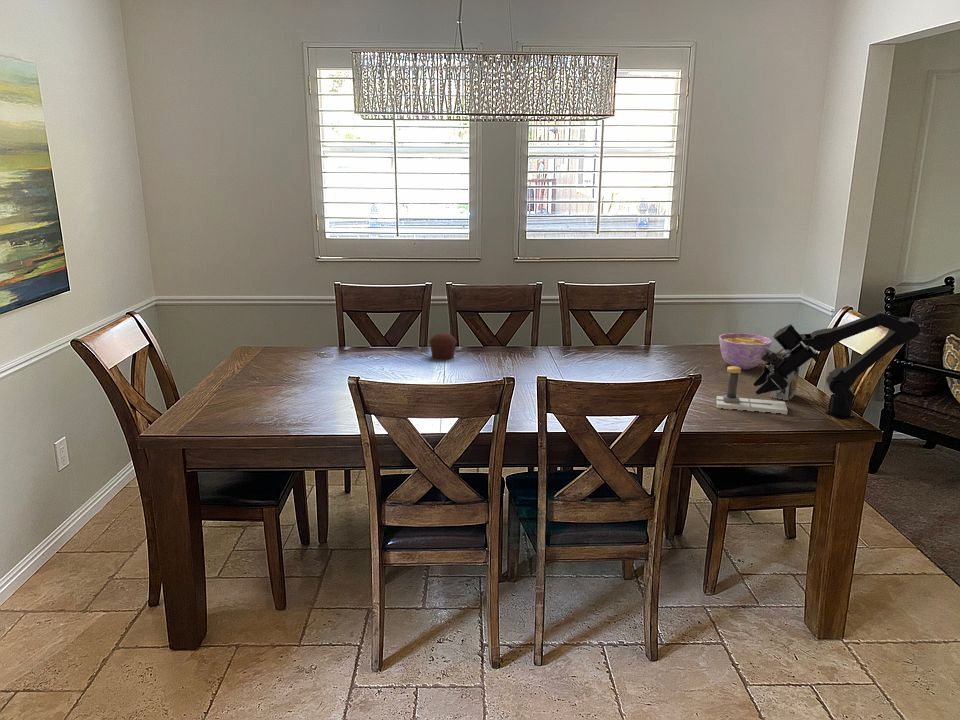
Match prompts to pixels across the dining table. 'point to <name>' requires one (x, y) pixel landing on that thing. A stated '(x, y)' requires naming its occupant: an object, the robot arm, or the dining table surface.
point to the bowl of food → (743, 349)
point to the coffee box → (792, 383)
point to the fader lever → (732, 384)
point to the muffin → (442, 346)
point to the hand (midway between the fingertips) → (755, 389)
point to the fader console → (753, 405)
